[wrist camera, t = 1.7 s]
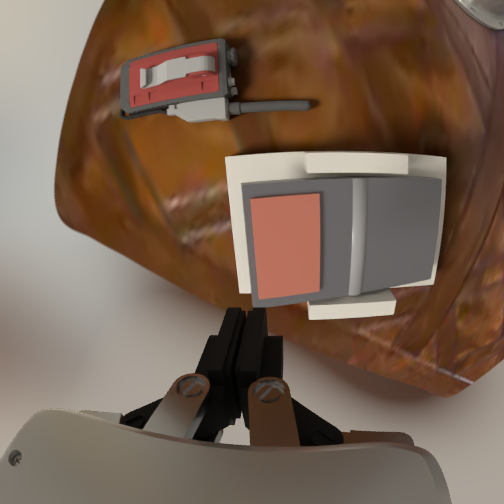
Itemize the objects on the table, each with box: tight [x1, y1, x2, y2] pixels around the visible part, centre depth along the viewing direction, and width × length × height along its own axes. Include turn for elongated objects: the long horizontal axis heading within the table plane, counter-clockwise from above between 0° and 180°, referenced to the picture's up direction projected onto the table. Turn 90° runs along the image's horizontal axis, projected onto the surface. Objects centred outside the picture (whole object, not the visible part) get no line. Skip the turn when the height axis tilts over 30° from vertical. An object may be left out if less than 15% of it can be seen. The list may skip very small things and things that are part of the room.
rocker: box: [241, 176, 442, 307], centre depth 22 cm, size 18×10×2 cm, turn 95°
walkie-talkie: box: [120, 38, 311, 123], centre depth 22 cm, size 9×4×20 cm
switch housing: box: [225, 151, 446, 320], centre depth 24 cm, size 22×14×8 cm, turn 94°
